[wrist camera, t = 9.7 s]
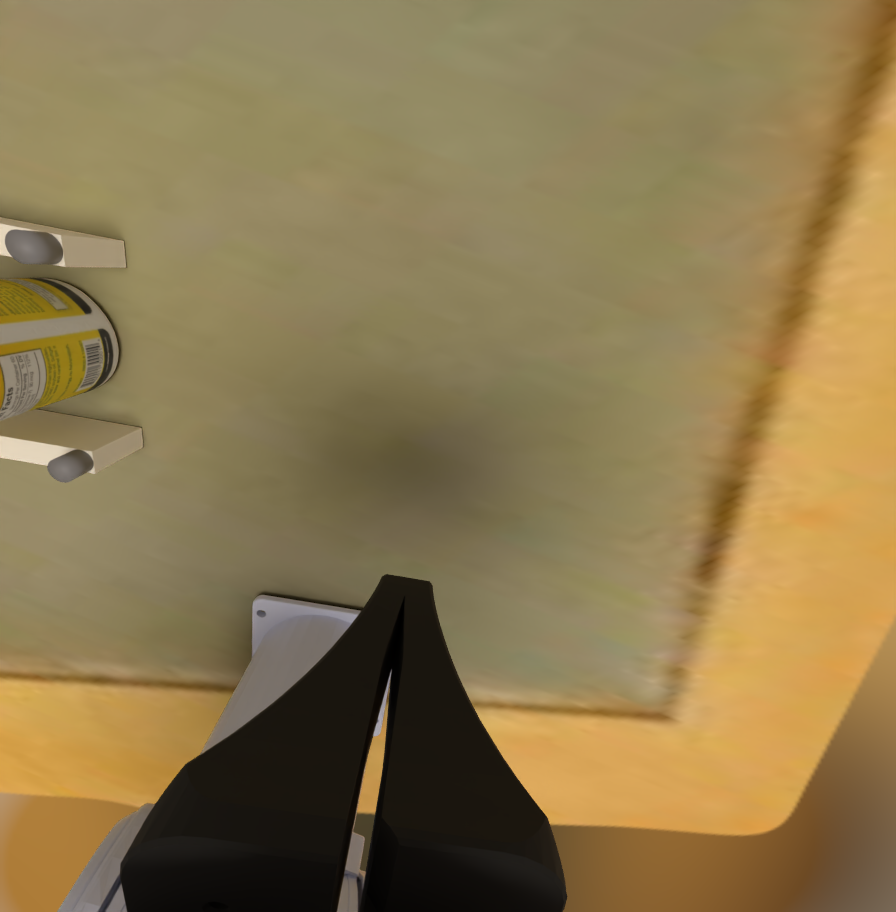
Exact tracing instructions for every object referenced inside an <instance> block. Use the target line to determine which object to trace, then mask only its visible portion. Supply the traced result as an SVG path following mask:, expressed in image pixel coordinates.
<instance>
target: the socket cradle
mask: <svg viewBox="0 0 896 912" xmlns="http://www.w3.org/2000/svg"><path fill="white" fill-rule="evenodd" d="M0 255H4V256H10V257H13V258H14V259H15V260H17V261H18V262H20V263H23V264H52V265H57V266H63V267H109V268H126V259H125V248H124V241H122V240H117V239H112V238H106V237H101V236H96V235H91V234H86V233H80V232H75V231H70V230H65V229H60V228H54V227H49V226H44V225H39V224H33V223H28V222H23V221H18V220H13V219H7V218H2V217H0ZM141 448H143V438H142V428H141V427H135V426H129V425H123V424H118V423H112V422H106V421H101V420H95V419H89V418H84V417H78V416H72V415H67V414H61V413H55V412H50V411H44V410H38V409H34V410H31V411H28V412H25V413H22V414H19V415H16V416H13V417H10V418H7V419H4V420H1V421H0V458H6V459H12V460H18V461H24V462H30V463H35V464H41V465H47V468H48V471H49V473H50V475H51V476H52V477H53V478H54V479H56V480H58V481H60V482H70V481H72V480H74V479H75V478H77V477H79V476H81V475H83V474H85V473H87V472H88V473H94V474H96V473H97V472H99V471H101V470H103V469H105V468H106V467H108V466H110V465H112V464H114V463H116V462H117V461H119V460H121V459H123V458H125V457H126V456H128V455H130V454H132V453H134V452H136V451H137V450H139V449H141Z"/></svg>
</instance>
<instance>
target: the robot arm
mask: <svg viewBox="0 0 896 912" xmlns="http://www.w3.org/2000/svg"><path fill="white" fill-rule="evenodd" d="M261 610H263V611H265V612H262V611H261ZM390 676H391V682H390ZM389 682H390V693H389V705H388V717H387V729H386V741H385V753H384V762H383V770H382V777H381V783H380V789H379V795H378V801H377V807H376V813H375V819H374V825H373V831H372V837H371V844H370V850H369V856H368V862H367V868H366V872H365V871H362V870H359V869H360V864H361V858H362V852H363V846H364V840H365V838H364V837H363V836H361V835H359V834H356V833H354V832H353V828H354V823H355V818H356V813H357V808H358V803H359V798H360V793H361V788H362V783H363V778H364V772H365V767H366V762H367V757H368V753H369V749H370V745H371V742H372V738H373V736H377V735H379V734H380V732H381V727H382V721H383V716H384V710H385V705H386V699H387V693H388V688H389ZM566 900H567V894H566V886H565V879H564V873H563V869H562V865H561V861H560V857H559V853H558V850H557V846H556V843H555V840H554V836H553V833H552V830H551V827H550V824H549V821H548V818H547V816H546V815H545V814H544V813H543V811H542V810H541V809H540V808H539V806H538V805H537V804H536V803H535V801H534V800H533V799H532V797H531V796H530V795H529V793H528V792H527V791H526V789H525V788H524V787H523V785H522V784H521V783H520V781H519V780H518V779H517V777H516V776H515V774H514V773H513V771H512V770H511V768H510V767H509V765H508V764H507V763H506V761H505V760H504V758H503V757H502V755H501V754H500V752H499V750H498V749H497V747H496V745H495V744H494V742H493V740H492V739H491V737H490V735H489V734H488V732H487V731H486V729H485V727H484V726H483V724H482V722H481V721H480V719H479V717H478V715H477V713H476V711H475V709H474V707H473V706H472V704H471V702H470V700H469V698H468V696H467V694H466V691H465V689H464V687H463V685H462V683H461V681H460V678H459V676H458V674H457V671H456V669H455V666H454V664H453V661H452V659H451V656H450V654H449V651H448V648H447V645H446V642H445V639H444V636H443V633H442V630H441V626H440V623H439V619H438V615H437V611H436V607H435V602H434V596H433V585H432V584H431V583H430V581H424V580H418V579H412V578H406V577H400V576H394V575H388V574H386V575H384V576H382V578H381V580H380V582H379V584H378V586H377V588H376V589H375V591H374V593H373V594H372V596H371V598H370V599H369V601H368V602H367V604H366V605H365V607H364V608H363V609H362V611H360V610H354V609H348V608H341V607H335V606H329V605H323V604H317V603H311V602H305V601H298V600H292V599H286V598H280V597H274V596H268V595H259V596H257V597H256V598H255V600H254V601H253V606H252V660H251V662H250V663H249V665H248V667H247V669H246V671H245V673H244V674H243V676H242V678H241V680H240V682H239V684H238V685H237V687H236V689H235V691H234V693H233V695H232V696H231V698H230V700H229V702H228V704H227V706H226V707H225V709H224V711H223V713H222V715H221V717H220V718H219V720H218V722H217V724H216V726H215V728H214V730H213V731H212V733H211V735H210V737H209V739H208V741H207V742H206V744H205V746H204V748H203V750H202V752H201V753H200V755H199V756H197V757H196V758H194V759H193V760H191V761H190V762H188V763H187V764H185V766H184V767H183V768H182V769H181V771H180V772H179V773H178V774H177V776H176V777H175V778H174V779H173V781H172V782H171V783H170V784H169V786H168V787H167V789H166V790H165V791H164V793H163V794H162V796H161V797H160V798H159V800H158V801H157V803H156V804H152V803H147V804H144V805H143V806H141V808H140V809H139V810H138V811H135V812H133V813H131V814H129V815H128V816H126V817H124V818H122V819H121V820H119V821H118V822H117V823H116V825H115V826H114V827H113V828H112V830H111V831H110V832H109V834H108V835H107V836H106V838H105V839H104V841H103V842H102V843H101V845H100V846H99V848H98V849H97V851H96V852H95V854H94V855H93V856H92V858H91V859H90V861H89V862H88V864H87V866H86V867H85V869H84V870H83V871H82V873H81V875H80V876H79V878H78V879H77V881H76V882H75V884H74V886H73V887H72V889H71V890H70V892H69V894H68V895H67V897H66V898H65V900H64V901H63V903H62V905H61V906H60V908H59V910H58V911H57V912H563V910H564V907H565V904H566Z"/></svg>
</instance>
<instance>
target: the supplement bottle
mask: <svg viewBox="0 0 896 912" xmlns="http://www.w3.org/2000/svg"><path fill="white" fill-rule="evenodd" d="M118 355H119V349H118V342H117V338H116V335H115V332H114V330H113V328H112V325H111V324H110V322H109V320H108V319H107V317H106V316H105V314H104V313H103V312H102V311H101V309H100V308H99V307H98V306H97V305H96V304H95V303H94V302H93V301H92V300H91V299H90V298H89V297H88V296H87V295H86V294H84V293H83V292H82V291H80V290H78V289H77V288H75V287H73V286H71V285H69V284H67V283H64V282H61V281H58V280H53V279H47V278H9V279H0V421H1V420H4V419H7V418H10V417H13V416H16V415H19V414H22V413H25V412H28V411H31V410H34V409H37V408H40V407H43V406H46V405H49V404H52V403H55V402H58V401H61V400H63V399H66V398H69V397H72V396H75V395H78V394H81V393H85V392H87V391H90V390H93V389H95V388H98V387H99V386H101V385H103V384H104V383H105V382H106V381H107V380H108V379H109V378H110V377H111V376H112V374H113V373H114V371H115V369H116V366H117V363H118Z"/></svg>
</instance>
